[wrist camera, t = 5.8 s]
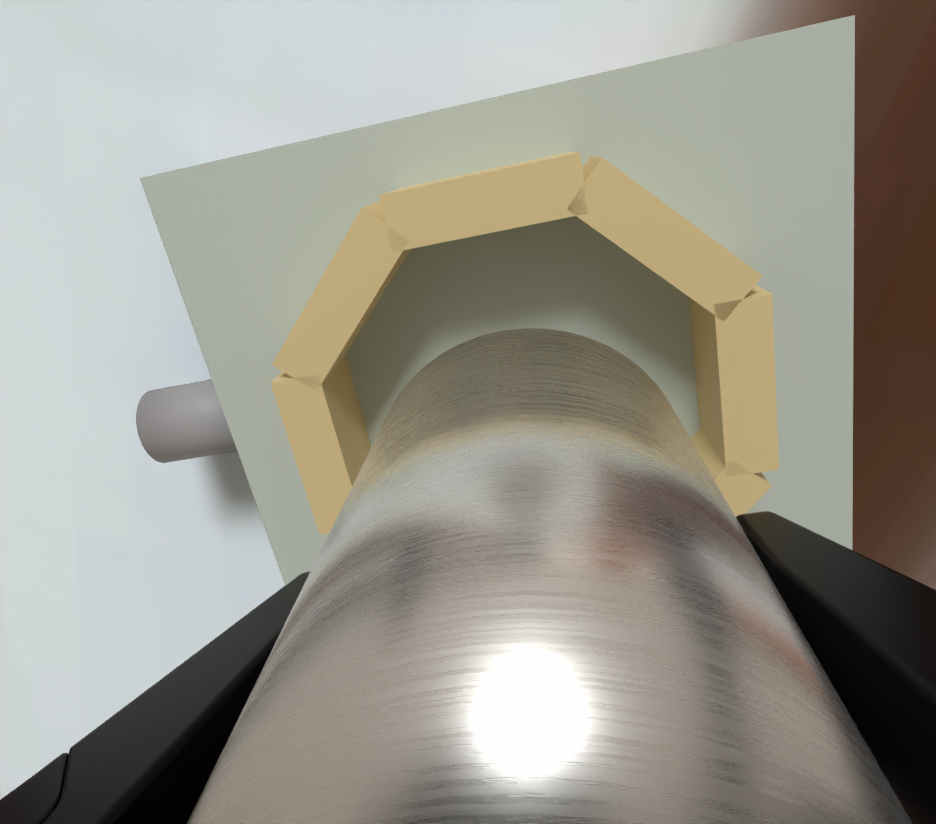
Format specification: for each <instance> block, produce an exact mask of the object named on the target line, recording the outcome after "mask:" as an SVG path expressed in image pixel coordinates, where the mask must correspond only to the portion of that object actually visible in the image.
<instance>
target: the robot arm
mask: <svg viewBox="0 0 936 824" xmlns="http://www.w3.org/2000/svg"><path fill="white" fill-rule="evenodd" d="M736 518H737V520H738V522H739V524H740V525H741V527H742V529H743V530H744V532H745V534H746V536H747V537H748V539H749V541H750V543H751V544H752V546H753V548H754V550H755V551H756V553H757V555H758V556H759V558H760V560H761V562H762V563H763V565H764V567H765V569H766V570H767V572H768V574H769V576H770V577H771V579H772V581H773V582H774V584H775V586H776V588H777V589H778V591H779V593H780V595H781V596H782V598H783V600H784V602H785V603H786V605H787V607H788V608H789V610H790V612H791V614H792V615H793V617H794V619H795V621H796V622H797V624H798V626H799V628H800V629H801V631H802V633H803V634H804V636H805V638H806V640H807V641H808V643H809V645H810V647H811V648H812V650H813V652H814V654H815V655H816V657H817V659H818V661H819V662H820V664H821V666H822V667H823V669H824V671H825V673H826V674H827V676H828V678H829V680H830V681H831V683H832V685H833V687H834V688H835V690H836V692H837V693H838V695H839V697H840V699H841V700H842V702H843V704H844V706H845V707H846V709H847V711H848V713H849V714H850V716H851V718H852V719H853V721H854V723H855V725H856V726H857V728H858V730H859V732H860V733H861V735H862V737H863V739H864V740H865V742H866V744H867V745H868V747H869V749H870V751H871V752H872V754H873V756H874V758H875V759H876V761H877V763H878V765H879V766H880V768H881V770H882V771H883V773H884V775H885V777H886V778H887V780H888V782H889V784H890V785H891V787H892V789H893V791H894V792H895V794H896V796H897V797H898V799H899V801H900V803H901V804H902V806H903V808H904V810H905V811H906V813H907V815H908V817H909V818H910V820H911V822H912V824H936V590H934V589H932V588H930V587H928V586H926V585H924V584H922V583H920V582H918V581H915V580H913V579H911V578H909V577H907V576H905V575H903V574H901V573H899V572H897V571H895V570H892V569H890V568H888V567H886V566H884V565H882V564H880V563H878V562H876V561H874V560H872V559H869V558H867V557H865V556H863V555H861V554H859V553H857V552H855V551H853V550H851V549H849V548H846V547H844V546H842V545H840V544H838V543H836V542H834V541H832V540H830V539H828V538H826V537H823V536H821V535H819V534H817V533H815V532H813V531H811V530H809V529H807V528H805V527H803V526H800V525H798V524H796V523H794V522H792V521H790V520H788V519H786V518H784V517H782V516H780V515H777V514H775V513H773V512H770V511H762V512H755V513H747V514H741V515H738V516H736ZM309 573H310V571H309V572H304V573H302V574H300V575H299V576H297V577H296V578H295V579H293V580H292V581H291V582H289V583H288V584H287V585H286V586H284V587H283V588H282V589H280V590H279V591H278V592H276V593H275V594H274V595H272V596H271V597H270V598H268V599H267V600H266V601H264V602H263V603H262V604H260V605H259V606H258V607H256V608H255V609H254V610H252V611H251V612H250V613H248V614H247V615H246V616H244V617H243V618H242V619H240V620H239V621H238V622H236V623H235V624H234V625H233V626H231V627H230V628H229V629H227V630H226V631H225V632H223V633H222V634H221V635H219V636H218V637H217V638H215V639H214V640H213V641H211V642H210V643H209V644H207V645H206V646H205V647H203V648H202V649H201V650H199V651H198V652H197V653H195V654H194V655H193V656H191V657H190V658H189V659H187V660H186V661H185V662H184V663H182V664H181V665H180V666H178V667H177V668H176V669H174V670H173V671H172V672H170V673H169V674H168V675H166V676H165V677H164V678H162V679H161V680H160V681H158V682H157V683H156V684H154V685H153V686H152V687H150V688H149V689H148V690H146V691H145V692H144V693H142V694H141V695H140V696H138V697H137V698H136V699H134V700H133V701H132V702H131V703H129V704H128V705H127V706H125V707H124V708H123V709H121V710H120V711H119V712H117V713H116V714H115V715H113V716H112V717H111V718H109V719H108V720H107V721H105V722H104V723H103V724H101V725H100V726H99V727H97V728H96V729H95V730H93V731H92V732H91V733H89V734H88V735H87V736H85V737H84V738H83V739H81V740H80V741H79V742H78V743H76V744H75V745H74V746H72V747H71V748H70V751H69V754H68V753H63V754H61V755H60V756H59V757H57V758H56V759H55V760H53V761H52V762H51V763H49V764H48V765H47V766H45V767H44V768H43V769H42V770H40V771H39V772H38V773H36V774H35V775H34V776H32V777H31V778H30V779H28V780H27V781H25V782H24V783H23V784H21V785H20V786H19V787H17V788H16V789H15V790H13V791H12V792H11V793H9V794H8V795H6V796H5V797H4V798H2V799H1V800H0V824H187V822H188V820H189V818H190V816H191V814H192V812H193V810H194V808H195V806H196V804H197V802H198V800H199V798H200V796H201V794H202V792H203V790H204V788H205V785H206V783H207V781H208V779H209V777H210V775H211V773H212V771H213V769H214V767H215V765H216V763H217V761H218V759H219V757H220V755H221V753H222V751H223V749H224V747H225V745H226V743H227V741H228V739H229V737H230V735H231V732H232V730H233V728H234V726H235V724H236V722H237V720H238V718H239V716H240V714H241V712H242V710H243V708H244V706H245V704H246V702H247V700H248V698H249V696H250V694H251V692H252V690H253V688H254V686H255V684H256V681H257V679H258V677H259V675H260V673H261V671H262V669H263V667H264V665H265V663H266V661H267V659H268V657H269V655H270V653H271V651H272V649H273V647H274V645H275V643H276V641H277V639H278V637H279V635H280V633H281V631H282V628H283V626H284V624H285V622H286V620H287V618H288V616H289V614H290V612H291V610H292V608H293V606H294V604H295V602H296V600H297V598H298V596H299V594H300V592H301V590H302V588H303V586H304V584H305V582H306V580H307V578H308V575H309Z"/></svg>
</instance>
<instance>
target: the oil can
mask: <svg viewBox="0 0 936 824" xmlns="http://www.w3.org/2000/svg"><path fill="white" fill-rule="evenodd" d="M187 824H912V822H911V820H910V818H909V817H908V815H907V813H906V811H905V810H904V808H903V806H902V804H901V803H900V801H899V799H898V797H897V796H896V794H895V792H894V791H893V789H892V787H891V785H890V784H889V782H888V780H887V778H886V777H885V775H884V773H883V771H882V770H881V768H880V766H879V765H878V763H877V761H876V759H875V758H874V756H873V754H872V752H871V751H870V749H869V747H868V745H867V744H866V742H865V740H864V739H863V737H862V735H861V733H860V732H859V730H858V728H857V726H856V725H855V723H854V721H853V719H852V718H851V716H850V714H849V713H848V711H847V709H846V707H845V706H844V704H843V702H842V700H841V699H840V697H839V695H838V693H837V692H836V690H835V688H834V687H833V685H832V683H831V681H830V680H829V678H828V676H827V674H826V673H825V671H824V669H823V667H822V666H821V664H820V662H819V661H818V659H817V657H816V655H815V654H814V652H813V650H812V648H811V647H810V645H809V643H808V641H807V640H806V638H805V636H804V634H803V633H802V631H801V629H800V628H799V626H798V624H797V622H796V621H795V619H794V617H793V615H792V614H791V612H790V610H789V608H788V607H787V605H786V603H785V602H784V600H783V598H782V596H781V595H780V593H779V591H778V589H777V588H776V586H775V584H774V582H773V581H772V579H771V577H770V576H769V574H768V572H767V570H766V569H765V567H764V565H763V563H762V562H761V560H760V558H759V556H758V555H757V553H756V551H755V550H754V548H753V546H752V544H751V543H750V541H749V539H748V537H747V536H746V534H745V532H744V530H743V529H742V527H741V525H740V524H739V522H738V520H737V518H736V517H735V515H734V513H733V511H732V510H731V508H730V506H729V504H728V503H727V501H726V499H725V498H724V496H723V494H722V492H721V491H720V489H719V487H718V485H717V484H716V482H715V480H714V478H713V477H712V475H711V473H710V472H709V470H708V468H707V466H706V465H705V463H704V461H703V459H702V458H701V456H700V454H699V452H698V451H697V449H696V447H695V445H694V444H693V442H692V440H691V439H690V437H689V435H688V433H687V432H686V430H685V428H684V426H683V425H682V423H681V421H680V419H679V418H678V416H677V414H676V413H675V411H674V409H673V407H672V406H671V404H670V402H669V401H668V399H667V398H666V396H665V395H664V394H663V392H662V391H661V389H660V388H659V386H658V385H657V384H656V383H655V382H654V381H653V380H652V379H651V378H650V377H649V376H648V375H647V373H646V372H645V371H644V370H643V369H641V368H640V367H639V366H638V365H636V364H635V363H634V362H632V361H631V360H630V359H629V358H627V357H626V356H624V355H623V354H621V353H619V352H617V351H616V350H614V349H612V348H611V347H609V346H607V345H605V344H602V343H600V342H597V341H595V340H593V339H590V338H588V337H584V336H581V335H577V334H573V333H570V332H565V331H558V330H551V329H538V328H521V329H512V330H503V331H498V332H494V333H490V334H486V335H482V336H478V337H476V338H473V339H471V340H468V341H465V342H463V343H460V344H458V345H456V346H455V347H453V348H451V349H449V350H447V351H445V352H444V353H442V354H440V355H439V356H438V357H436V358H435V359H433V360H432V361H431V362H429V363H428V364H427V365H425V366H424V367H423V368H422V369H421V370H420V371H419V372H418V373H417V374H416V375H415V376H414V377H413V378H412V379H411V380H410V381H409V382H408V383H407V385H406V386H405V387H404V389H403V390H402V391H401V392H400V394H399V395H398V397H397V398H396V400H395V402H394V404H393V405H392V407H391V409H390V411H389V412H388V414H387V416H386V419H385V421H384V423H383V425H382V427H381V429H380V431H379V433H378V435H377V437H376V439H375V441H374V443H373V445H372V447H371V449H370V451H369V453H368V455H367V457H366V459H365V461H364V463H363V465H362V467H361V469H360V472H359V474H358V476H357V478H356V480H355V482H354V484H353V486H352V488H351V490H350V492H349V494H348V496H347V498H346V500H345V502H344V504H343V506H342V508H341V510H340V512H339V514H338V516H337V518H336V520H335V522H334V525H333V527H332V529H331V531H330V533H329V535H328V537H327V539H326V541H325V543H324V545H323V547H322V549H321V551H320V553H319V555H318V557H317V559H316V561H315V563H314V565H313V567H312V569H311V571H310V573H309V575H308V578H307V580H306V582H305V584H304V586H303V588H302V590H301V592H300V594H299V596H298V598H297V600H296V602H295V604H294V606H293V608H292V610H291V612H290V614H289V616H288V618H287V620H286V622H285V624H284V626H283V628H282V631H281V633H280V635H279V637H278V639H277V641H276V643H275V645H274V647H273V649H272V651H271V653H270V655H269V657H268V659H267V661H266V663H265V665H264V667H263V669H262V671H261V673H260V675H259V677H258V679H257V681H256V684H255V686H254V688H253V690H252V692H251V694H250V696H249V698H248V700H247V702H246V704H245V706H244V708H243V710H242V712H241V714H240V716H239V718H238V720H237V722H236V724H235V726H234V728H233V730H232V732H231V735H230V737H229V739H228V741H227V743H226V745H225V747H224V749H223V751H222V753H221V755H220V757H219V759H218V761H217V763H216V765H215V767H214V769H213V771H212V773H211V775H210V777H209V779H208V781H207V783H206V785H205V788H204V790H203V792H202V794H201V796H200V798H199V800H198V802H197V804H196V806H195V808H194V810H193V812H192V814H191V816H190V818H189V820H188V822H187Z"/></svg>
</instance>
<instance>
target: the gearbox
mask: <svg viewBox="0 0 936 824" xmlns="http://www.w3.org/2000/svg"><path fill="white" fill-rule="evenodd" d="M854 76H855V15H853V16H849V17H844V18H840V19H835V20H831V21H827V22H822V23H818V24H813V25H809V26H805V27H800V28H796V29H792V30H787V31H783V32H778V33H774V34H770V35H765V36H761V37H757V38H752V39H748V40H743V41H739V42H735V43H730V44H726V45H722V46H717V47H713V48H708V49H704V50H700V51H695V52H691V53H686V54H682V55H678V56H673V57H669V58H665V59H660V60H656V61H651V62H647V63H643V64H638V65H634V66H630V67H625V68H621V69H616V70H612V71H608V72H603V73H599V74H595V75H590V76H586V77H581V78H577V79H573V80H568V81H564V82H559V83H555V84H551V85H546V86H542V87H538V88H533V89H529V90H524V91H520V92H516V93H511V94H507V95H503V96H498V97H494V98H489V99H485V100H481V101H476V102H472V103H468V104H463V105H459V106H454V107H450V108H446V109H441V110H437V111H432V112H428V113H424V114H419V115H415V116H411V117H406V118H402V119H397V120H393V121H389V122H384V123H380V124H376V125H371V126H367V127H362V128H358V129H354V130H349V131H345V132H340V133H336V134H332V135H327V136H323V137H319V138H314V139H310V140H305V141H301V142H297V143H292V144H288V145H284V146H279V147H275V148H270V149H266V150H262V151H257V152H253V153H249V154H244V155H240V156H235V157H231V158H227V159H222V160H218V161H213V162H209V163H205V164H200V165H196V166H192V167H187V168H183V169H178V170H174V171H170V172H165V173H161V174H157V175H152V176H148V177H143V178H140V180H141V183H142V186H143V189H144V191H145V194H146V197H147V200H148V203H149V205H150V208H151V211H152V214H153V217H154V219H155V222H156V225H157V228H158V231H159V233H160V236H161V239H162V242H163V245H164V247H165V250H166V253H167V256H168V259H169V261H170V264H171V267H172V270H173V273H174V275H175V278H176V281H177V284H178V286H179V289H180V292H181V295H182V298H183V300H184V303H185V306H186V309H187V312H188V314H189V317H190V320H191V323H192V326H193V328H194V331H195V334H196V337H197V340H198V342H199V345H200V348H201V351H202V354H203V356H204V359H205V362H206V365H207V368H208V370H209V373H210V376H211V379H212V380H206V381H201V382H195V383H190V384H184V385H179V386H173V387H167V388H162V389H156V390H151V391H148V392H146V393H145V394H144V395H143V396H142V398H141V399H140V402H139V404H138V407H137V414H136V423H137V430H138V434H139V438H140V440H141V443H142V445H143V447H144V449H145V450H146V452H147V453H148V454H149V455H150V456H151V457H152V458H153V459H154V460H156V461H158V462H162V463H166V462H172V461H178V460H184V459H191V458H197V457H203V456H209V455H215V454H221V453H227V452H233V451H238V454H239V457H240V460H241V462H242V465H243V468H244V471H245V474H246V476H247V479H248V482H249V485H250V488H251V490H252V493H253V496H254V499H255V502H256V504H257V507H258V510H259V513H260V516H261V518H262V521H263V524H264V527H265V530H266V532H267V535H268V538H269V541H270V544H271V546H272V549H273V552H274V555H275V557H276V560H277V563H278V566H279V569H280V571H281V574H282V577H283V580H284V583H285V585H287V584H288V583H289V582H291V581H292V580H293V579H295V578H296V577H297V576H299V575H300V574H302V573H304V572H309V571H311V569H312V567H313V565H314V563H315V561H316V559H317V557H318V555H319V553H320V551H321V549H322V547H323V545H324V543H325V541H326V539H327V537H328V535H329V533H330V531H331V529H332V527H333V525H334V522H335V520H336V518H337V516H338V514H339V512H340V510H341V508H342V506H343V504H344V502H345V500H346V498H347V496H348V494H349V492H350V490H351V488H352V486H353V484H354V482H355V480H356V478H357V476H358V474H359V472H360V469H361V467H362V465H363V463H364V461H365V459H366V457H367V455H368V453H369V451H370V449H371V447H372V445H373V443H374V441H375V439H376V437H377V435H378V433H379V431H380V429H381V427H382V425H383V423H384V421H385V419H386V416H387V414H388V412H389V411H390V409H391V407H392V405H393V404H394V402H395V400H396V398H397V397H398V395H399V394H400V392H401V391H402V390H403V389H404V387H405V386H406V385H407V383H408V382H409V381H410V380H411V379H412V378H413V377H414V376H415V375H416V374H417V373H418V372H419V371H420V370H421V369H422V368H423V367H424V366H425V365H427V364H428V363H429V362H431V361H432V360H433V359H435V358H436V357H438V356H439V355H440V354H442V353H444V352H445V351H447V350H449V349H451V348H453V347H455V346H456V345H458V344H460V343H463V342H465V341H468V340H471V339H473V338H476V337H478V336H482V335H486V334H490V333H494V332H498V331H503V330H512V329H521V328H538V329H551V330H558V331H565V332H570V333H573V334H577V335H581V336H584V337H588V338H590V339H593V340H595V341H597V342H600V343H602V344H605V345H607V346H609V347H611V348H612V349H614V350H616V351H617V352H619V353H621V354H623V355H624V356H626V357H627V358H629V359H630V360H631V361H632V362H634V363H635V364H636V365H638V366H639V367H640V368H641V369H643V370H644V371H645V372H646V373H647V375H648V376H649V377H650V378H651V379H652V380H653V381H654V382H655V383H656V384H657V385H658V386H659V388H660V389H661V391H662V392H663V394H664V395H665V396H666V398H667V399H668V401H669V402H670V404H671V406H672V407H673V409H674V411H675V413H676V414H677V416H678V418H679V419H680V421H681V423H682V425H683V426H684V428H685V430H686V432H687V433H688V435H689V437H690V439H691V440H692V442H693V444H694V445H695V447H696V449H697V451H698V452H699V454H700V456H701V458H702V459H703V461H704V463H705V465H706V466H707V468H708V470H709V472H710V473H711V475H712V477H713V478H714V480H715V482H716V484H717V485H718V487H719V489H720V491H721V492H722V494H723V496H724V498H725V499H726V501H727V503H728V504H729V506H730V508H731V510H732V511H733V513H734V515H735V517H736V516H738V515H741V514H747V513H755V512H762V511H770V512H773V513H775V514H777V515H780V516H782V517H784V518H786V519H788V520H790V521H792V522H794V523H796V524H798V525H800V526H803V527H805V528H807V529H809V530H811V531H813V532H815V533H817V534H819V535H821V536H823V537H826V538H828V539H830V540H832V541H834V542H836V543H838V544H840V545H842V546H844V547H846V548H849V549H851V550H852V503H853V290H854Z"/></svg>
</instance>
